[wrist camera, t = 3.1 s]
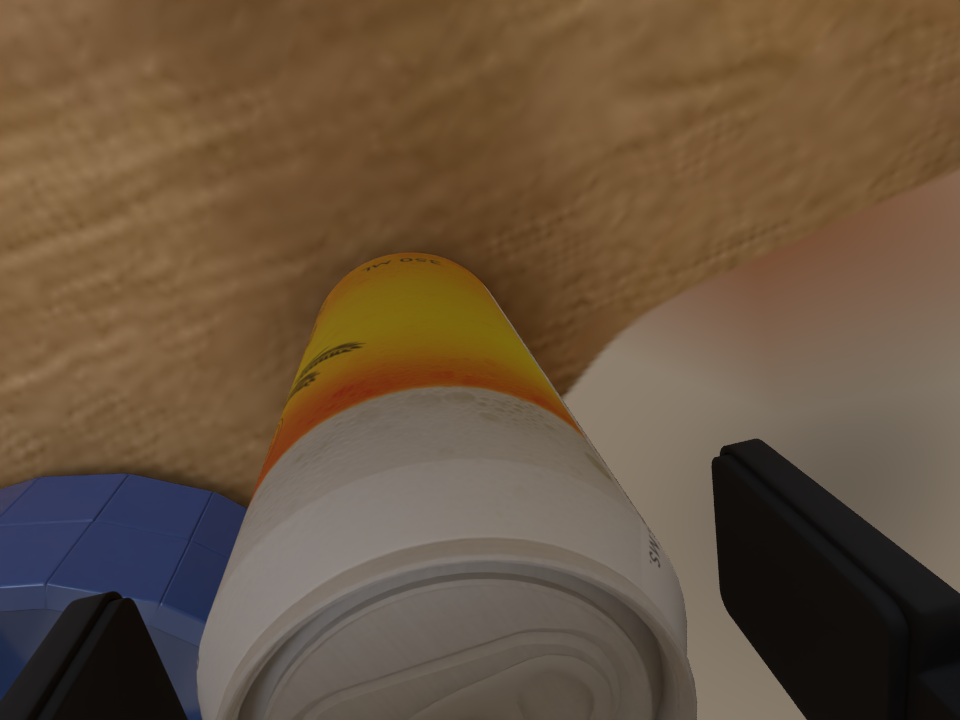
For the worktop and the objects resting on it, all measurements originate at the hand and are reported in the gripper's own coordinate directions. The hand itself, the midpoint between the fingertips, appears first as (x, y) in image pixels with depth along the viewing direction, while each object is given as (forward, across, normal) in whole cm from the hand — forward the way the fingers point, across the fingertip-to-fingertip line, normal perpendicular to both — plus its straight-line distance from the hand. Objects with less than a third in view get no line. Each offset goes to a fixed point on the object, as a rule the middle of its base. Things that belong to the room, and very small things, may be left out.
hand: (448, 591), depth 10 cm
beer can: (+12, 0, -1) cm, 12 cm away
